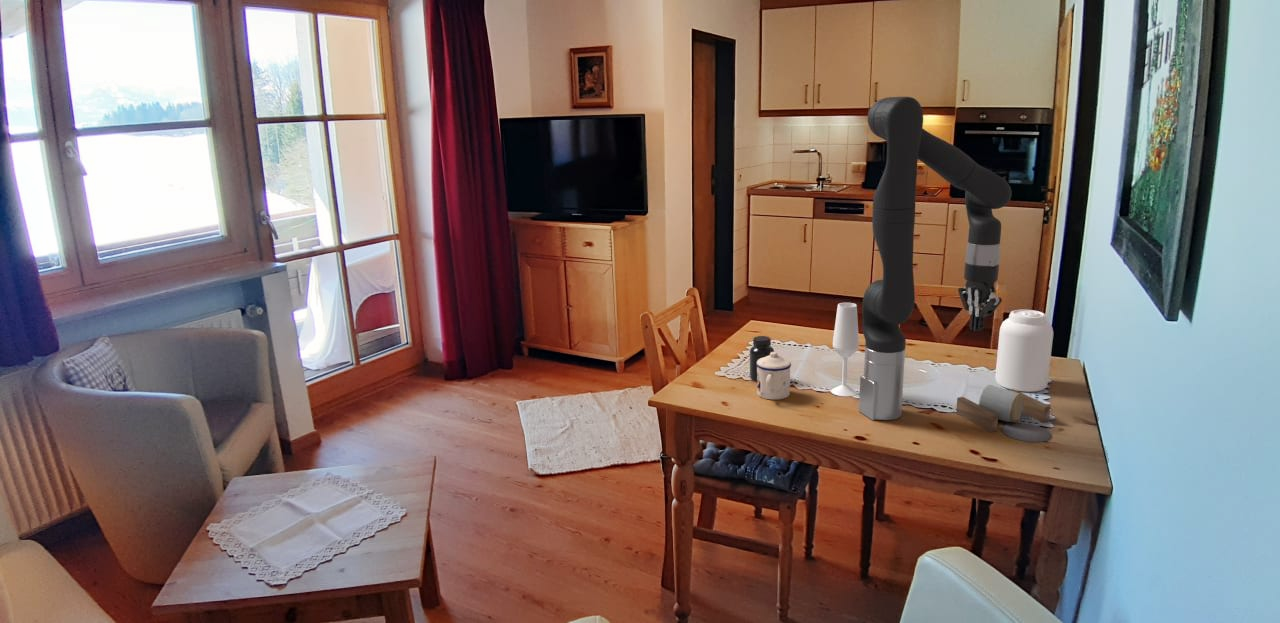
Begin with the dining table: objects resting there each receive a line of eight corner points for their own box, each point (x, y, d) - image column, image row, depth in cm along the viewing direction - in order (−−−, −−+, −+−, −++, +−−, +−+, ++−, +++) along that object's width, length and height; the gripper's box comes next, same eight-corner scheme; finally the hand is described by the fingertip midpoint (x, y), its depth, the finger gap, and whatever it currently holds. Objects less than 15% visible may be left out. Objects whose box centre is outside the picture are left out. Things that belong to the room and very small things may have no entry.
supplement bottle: (748, 374, 214) (748, 334, 211) (772, 374, 213) (772, 334, 210) (750, 383, 207) (751, 342, 204) (775, 382, 207) (776, 341, 204)
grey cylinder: (1012, 427, 172) (1015, 396, 171) (976, 419, 178) (979, 388, 176) (1029, 415, 180) (1032, 385, 178) (994, 407, 185) (996, 377, 184)
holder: (990, 432, 171) (992, 416, 170) (956, 412, 183) (957, 397, 182) (1048, 422, 175) (1050, 406, 174) (1011, 403, 187) (1012, 388, 186)
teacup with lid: (759, 386, 204) (760, 346, 201) (793, 389, 201) (793, 348, 198) (750, 402, 194) (750, 360, 191) (785, 406, 190) (786, 363, 187)
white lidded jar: (1053, 382, 199) (1061, 311, 194) (1038, 396, 190) (1047, 321, 185) (1004, 373, 208) (1010, 303, 202) (987, 385, 199) (994, 313, 194)
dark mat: (1024, 444, 164) (1024, 444, 164) (992, 427, 174) (992, 426, 174) (1061, 438, 167) (1061, 437, 167) (1027, 421, 176) (1027, 420, 176)
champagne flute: (843, 385, 203) (846, 300, 197) (862, 392, 197) (866, 305, 191) (825, 390, 200) (828, 304, 193) (844, 398, 194) (848, 309, 188)
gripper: (950, 257, 185) (945, 324, 190) (988, 267, 173) (982, 339, 177) (976, 255, 187) (970, 321, 191) (1015, 264, 174) (1008, 335, 179)
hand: (976, 329), depth 184 cm, fingers closed
